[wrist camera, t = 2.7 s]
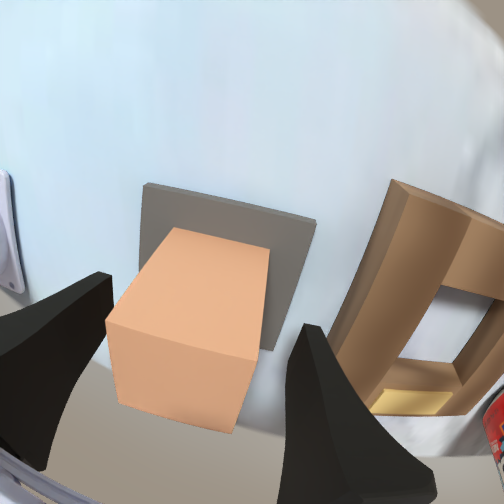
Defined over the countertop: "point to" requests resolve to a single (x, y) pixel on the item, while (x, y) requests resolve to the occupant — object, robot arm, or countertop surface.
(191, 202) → the pad
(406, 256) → the socket block
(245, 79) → the countertop surface
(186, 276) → the peg
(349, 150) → the countertop surface
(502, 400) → the soda can
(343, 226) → the countertop surface
